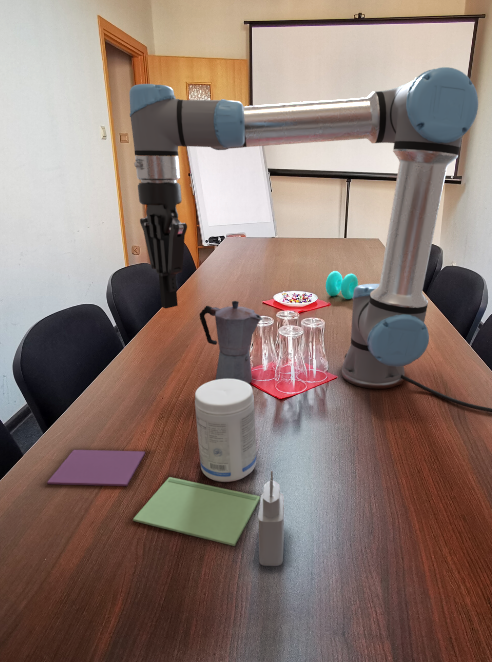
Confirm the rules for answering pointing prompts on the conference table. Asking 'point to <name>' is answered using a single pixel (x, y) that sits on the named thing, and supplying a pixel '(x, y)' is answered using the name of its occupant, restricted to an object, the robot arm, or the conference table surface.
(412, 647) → the conference table surface
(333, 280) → the turquoise yo-yo
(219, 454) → the supplement tub
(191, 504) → the sage cloth
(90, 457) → the plum cloth
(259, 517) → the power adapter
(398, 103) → the robot arm
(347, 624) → the conference table surface
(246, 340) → the moka pot
